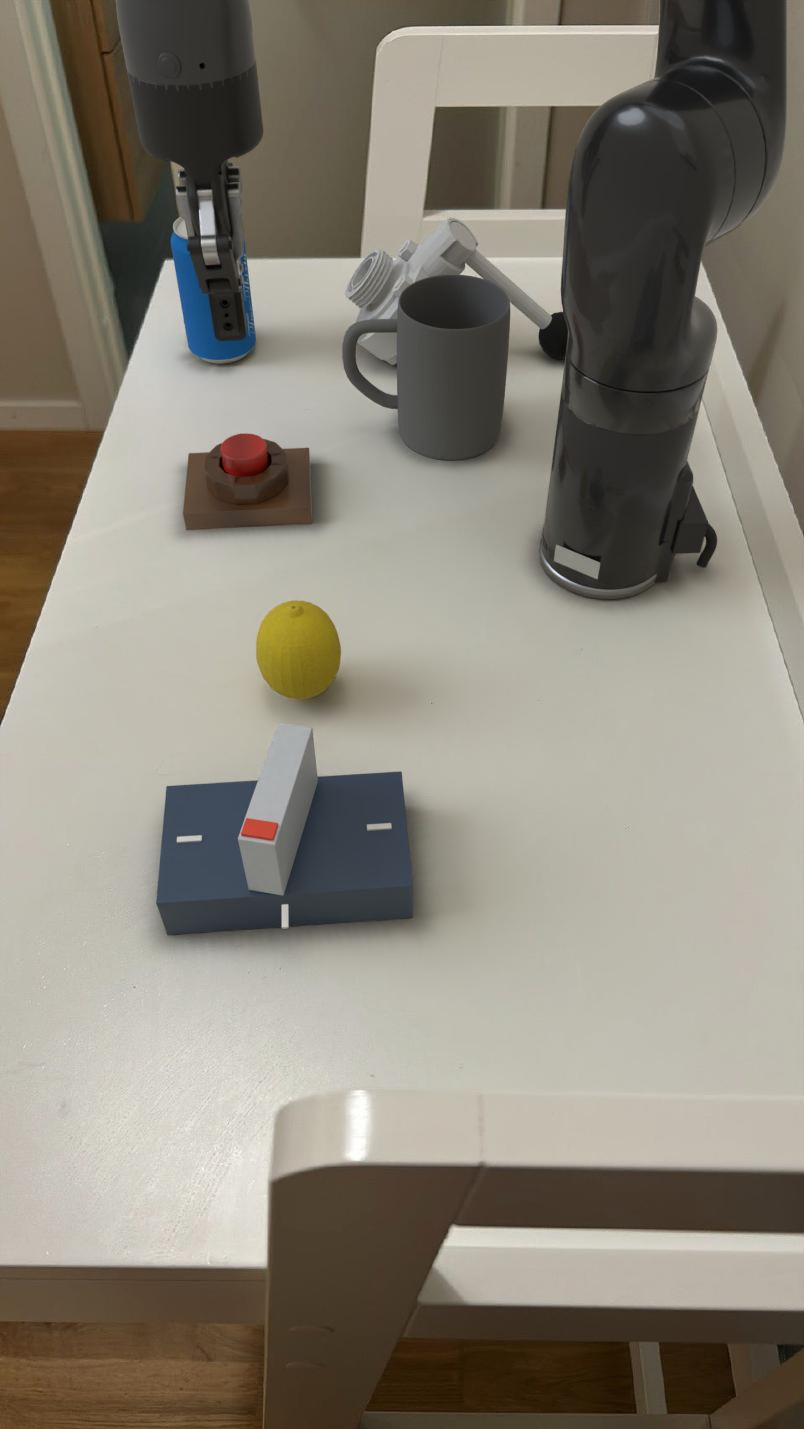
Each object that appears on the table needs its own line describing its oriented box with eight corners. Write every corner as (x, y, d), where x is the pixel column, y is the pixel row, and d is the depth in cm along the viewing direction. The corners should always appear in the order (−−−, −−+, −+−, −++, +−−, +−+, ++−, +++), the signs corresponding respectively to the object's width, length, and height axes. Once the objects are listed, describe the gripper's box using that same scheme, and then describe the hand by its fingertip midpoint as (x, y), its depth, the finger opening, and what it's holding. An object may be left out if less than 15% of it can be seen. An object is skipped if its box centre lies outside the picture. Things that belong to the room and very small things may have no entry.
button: (268, 450, 85) (266, 432, 83) (268, 477, 82) (266, 458, 81) (224, 452, 84) (221, 434, 83) (222, 479, 82) (219, 461, 81)
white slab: (285, 775, 62) (277, 718, 58) (318, 780, 62) (312, 723, 58) (248, 890, 57) (236, 836, 53) (283, 896, 57) (274, 842, 53)
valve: (480, 462, 104) (594, 368, 95) (321, 342, 95) (430, 224, 85) (483, 397, 111) (591, 303, 101) (334, 279, 101) (437, 162, 91)
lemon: (252, 677, 72) (238, 591, 66) (327, 654, 74) (319, 568, 68) (277, 733, 69) (265, 648, 63) (355, 708, 71) (350, 622, 64)
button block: (310, 464, 88) (307, 428, 86) (312, 524, 83) (309, 488, 81) (191, 470, 88) (184, 434, 85) (186, 530, 83) (178, 494, 80)
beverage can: (245, 371, 98) (229, 244, 89) (180, 364, 99) (157, 237, 90) (265, 336, 102) (251, 211, 93) (202, 329, 103) (182, 205, 94)
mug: (498, 402, 95) (508, 273, 85) (504, 462, 89) (515, 330, 79) (348, 402, 95) (342, 273, 86) (343, 462, 89) (336, 331, 80)
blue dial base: (399, 778, 67) (399, 742, 64) (415, 951, 59) (416, 918, 56) (178, 792, 66) (168, 756, 63) (164, 968, 58) (152, 936, 55)
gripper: (254, 93, 57) (286, 382, 70) (255, 19, 65) (283, 288, 78) (114, 100, 56) (172, 389, 69) (134, 25, 65) (182, 294, 78)
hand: (231, 335), depth 74 cm, fingers closed
